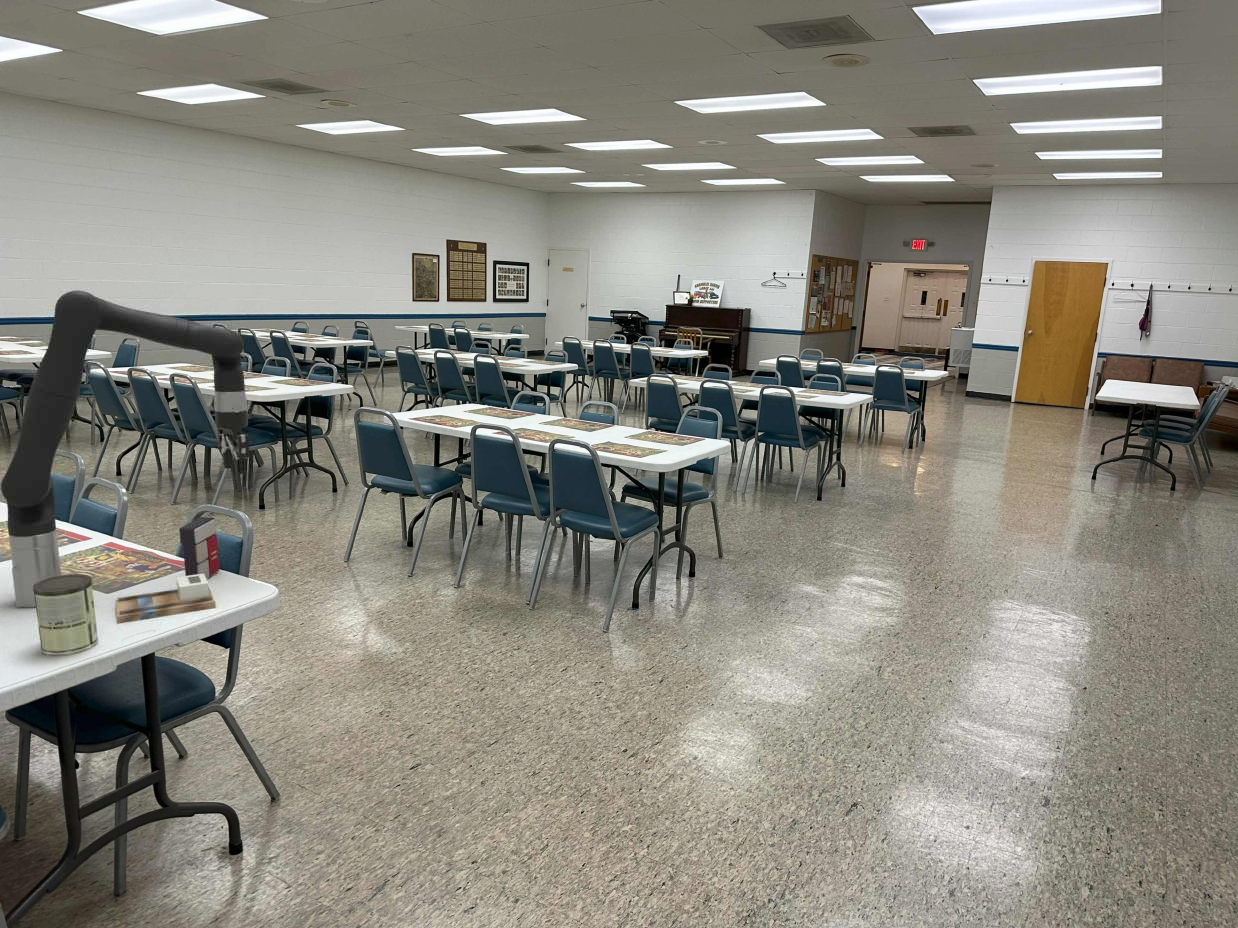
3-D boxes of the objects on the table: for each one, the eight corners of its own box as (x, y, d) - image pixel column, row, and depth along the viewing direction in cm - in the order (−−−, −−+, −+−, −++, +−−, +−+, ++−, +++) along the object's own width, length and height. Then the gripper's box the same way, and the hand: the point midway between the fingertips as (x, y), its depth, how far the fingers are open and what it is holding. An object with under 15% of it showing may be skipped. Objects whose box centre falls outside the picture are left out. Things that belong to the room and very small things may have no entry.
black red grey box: (200, 585, 214) (195, 528, 211) (183, 584, 214) (178, 528, 211) (221, 571, 225) (217, 517, 222) (205, 570, 225) (201, 516, 222)
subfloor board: (117, 623, 189) (116, 613, 189) (115, 606, 199) (114, 596, 199) (215, 607, 200) (214, 598, 199) (209, 591, 210) (208, 583, 209)
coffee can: (33, 646, 176) (25, 582, 173) (88, 631, 184) (81, 570, 181) (50, 660, 170) (42, 594, 167) (106, 645, 178) (99, 581, 175)
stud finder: (181, 603, 197) (179, 586, 196) (177, 592, 204) (176, 576, 203) (209, 599, 200) (208, 582, 200) (205, 588, 207) (203, 573, 206)
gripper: (205, 406, 216) (209, 468, 220) (226, 413, 206) (230, 477, 210) (235, 404, 222) (239, 464, 225) (257, 410, 212) (260, 473, 215)
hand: (235, 470), depth 217 cm, fingers open, 8 cm apart
